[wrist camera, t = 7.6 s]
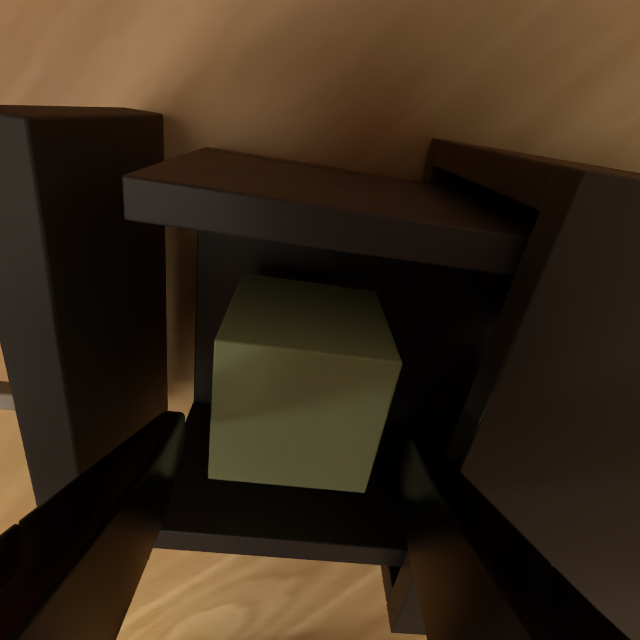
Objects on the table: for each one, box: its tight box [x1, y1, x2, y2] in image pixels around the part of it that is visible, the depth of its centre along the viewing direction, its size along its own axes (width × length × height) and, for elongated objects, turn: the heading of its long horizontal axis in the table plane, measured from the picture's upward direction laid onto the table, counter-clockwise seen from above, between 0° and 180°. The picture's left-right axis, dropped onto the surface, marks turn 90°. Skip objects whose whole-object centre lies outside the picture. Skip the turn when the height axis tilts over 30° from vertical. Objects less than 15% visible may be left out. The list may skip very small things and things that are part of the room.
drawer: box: [0, 105, 539, 567], centre depth 12 cm, size 18×11×7 cm, turn 81°
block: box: [208, 273, 402, 493], centre depth 11 cm, size 4×4×4 cm
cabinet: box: [381, 138, 640, 640], centre depth 13 cm, size 15×13×9 cm
